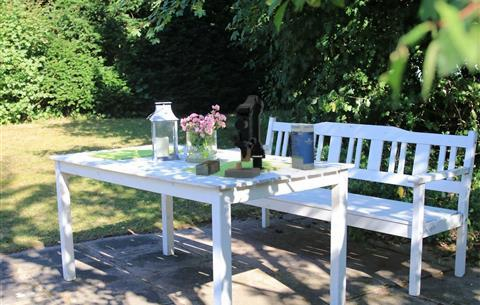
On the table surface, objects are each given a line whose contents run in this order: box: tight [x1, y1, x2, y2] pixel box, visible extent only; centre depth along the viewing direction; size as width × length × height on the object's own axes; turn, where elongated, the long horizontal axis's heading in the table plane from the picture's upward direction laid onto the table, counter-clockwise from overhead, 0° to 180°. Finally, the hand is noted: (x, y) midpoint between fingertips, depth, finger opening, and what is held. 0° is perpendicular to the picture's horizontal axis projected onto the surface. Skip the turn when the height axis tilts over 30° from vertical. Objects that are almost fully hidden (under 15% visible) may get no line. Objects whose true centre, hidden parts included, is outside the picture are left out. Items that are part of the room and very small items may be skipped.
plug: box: [240, 148, 251, 163], centre depth 308 cm, size 4×4×7 cm
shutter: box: [227, 161, 243, 170], centre depth 311 cm, size 6×6×4 cm
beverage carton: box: [195, 159, 221, 177], centre depth 322 cm, size 8×19×7 cm, turn 162°
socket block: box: [223, 167, 261, 179], centre depth 310 cm, size 12×16×4 cm
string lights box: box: [290, 122, 315, 171], centre depth 331 cm, size 13×8×26 cm, turn 30°
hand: (245, 157), depth 308 cm, fingers closed on plug, 4 cm apart
